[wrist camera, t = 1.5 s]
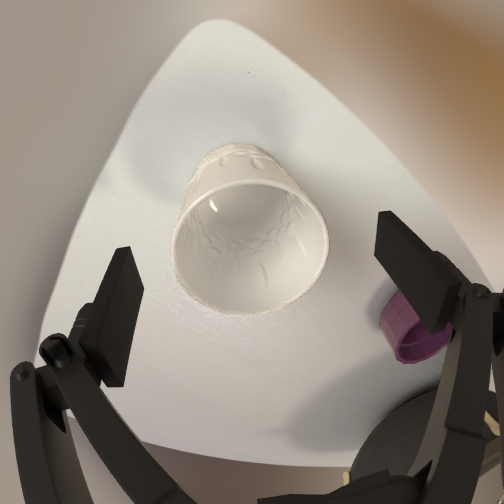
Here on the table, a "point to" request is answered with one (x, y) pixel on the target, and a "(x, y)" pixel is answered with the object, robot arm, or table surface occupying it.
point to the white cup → (247, 234)
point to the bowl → (415, 439)
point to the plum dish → (409, 332)
